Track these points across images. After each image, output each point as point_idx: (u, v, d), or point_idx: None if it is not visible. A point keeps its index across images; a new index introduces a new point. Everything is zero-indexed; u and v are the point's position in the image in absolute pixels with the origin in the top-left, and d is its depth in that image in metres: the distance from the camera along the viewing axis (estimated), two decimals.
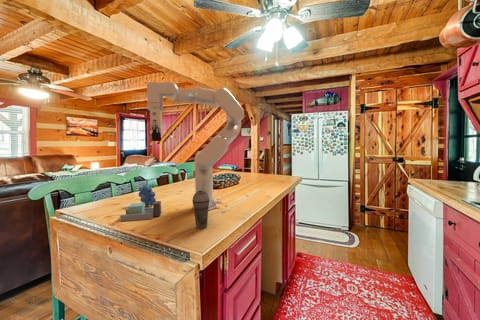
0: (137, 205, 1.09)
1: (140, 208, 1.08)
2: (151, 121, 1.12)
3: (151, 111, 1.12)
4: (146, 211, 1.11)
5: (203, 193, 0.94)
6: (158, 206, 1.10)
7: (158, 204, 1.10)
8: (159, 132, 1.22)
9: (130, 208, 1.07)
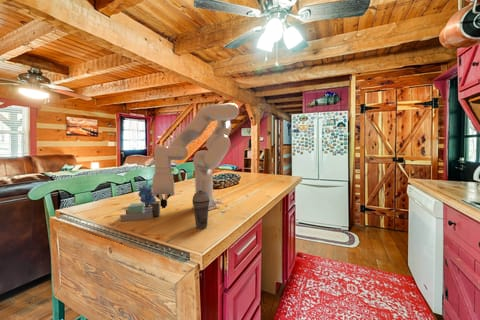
0: (137, 205, 1.09)
1: (140, 208, 1.08)
2: None
3: (172, 176, 1.11)
4: (145, 211, 1.11)
5: (203, 193, 0.94)
6: (157, 206, 1.10)
7: (157, 204, 1.10)
8: None
9: (130, 208, 1.07)
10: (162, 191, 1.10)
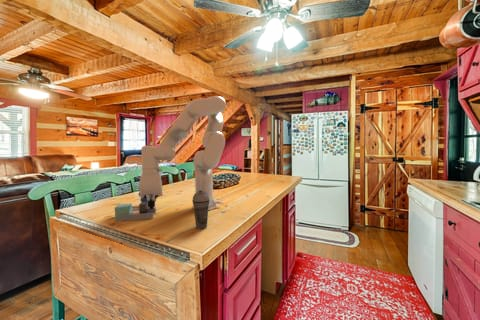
0: (124, 206, 1.08)
1: (127, 209, 1.07)
2: None
3: (159, 176, 1.10)
4: (132, 212, 1.10)
5: (203, 193, 0.94)
6: (144, 207, 1.09)
7: (144, 205, 1.09)
8: None
9: (116, 209, 1.06)
10: (149, 192, 1.09)
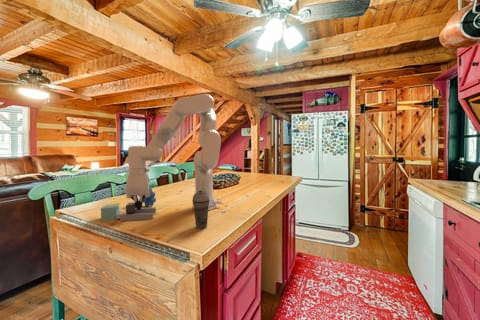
0: (110, 207, 1.07)
1: (113, 210, 1.05)
2: None
3: (146, 177, 1.09)
4: (119, 213, 1.08)
5: (203, 193, 0.94)
6: (131, 208, 1.08)
7: (131, 206, 1.07)
8: (137, 198, 1.11)
9: (103, 210, 1.05)
10: (136, 192, 1.08)
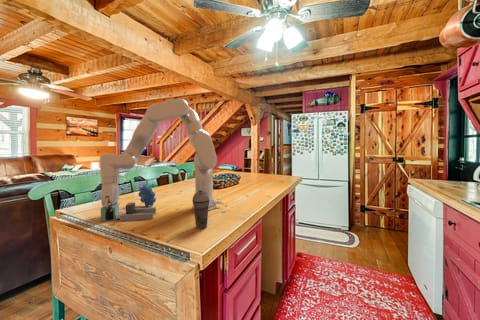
0: (110, 206, 1.07)
1: (113, 209, 1.05)
2: None
3: None
4: (119, 213, 1.08)
5: (203, 193, 0.94)
6: (131, 208, 1.07)
7: (131, 206, 1.07)
8: None
9: (102, 209, 1.04)
10: (116, 200, 1.08)
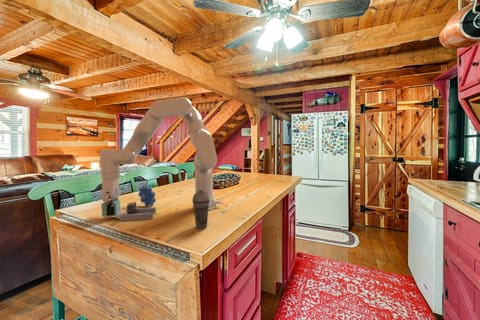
0: None
1: (114, 205, 1.05)
2: None
3: None
4: (120, 213, 1.09)
5: (203, 193, 0.94)
6: (132, 208, 1.08)
7: (132, 206, 1.08)
8: None
9: (103, 205, 1.04)
10: (116, 195, 1.08)
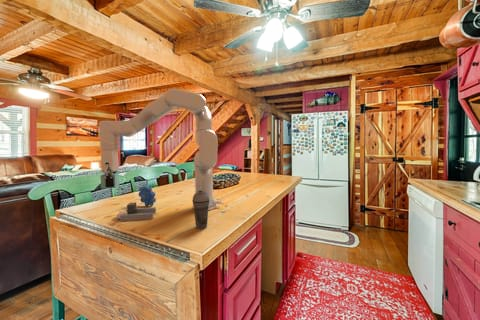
0: (110, 174, 1.06)
1: (113, 177, 1.05)
2: None
3: None
4: (120, 213, 1.09)
5: (203, 193, 0.94)
6: (132, 208, 1.08)
7: (132, 206, 1.08)
8: None
9: (102, 177, 1.04)
10: (116, 168, 1.07)
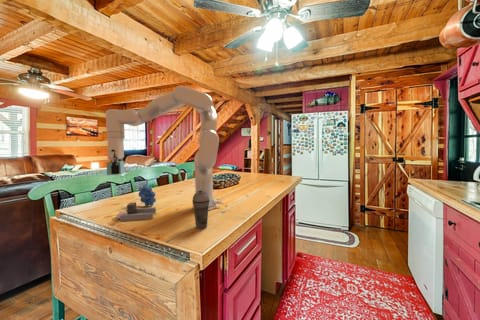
0: None
1: (118, 164, 1.08)
2: None
3: None
4: (120, 213, 1.09)
5: (203, 193, 0.94)
6: (132, 208, 1.08)
7: (132, 206, 1.08)
8: None
9: (108, 164, 1.07)
10: (121, 155, 1.11)
